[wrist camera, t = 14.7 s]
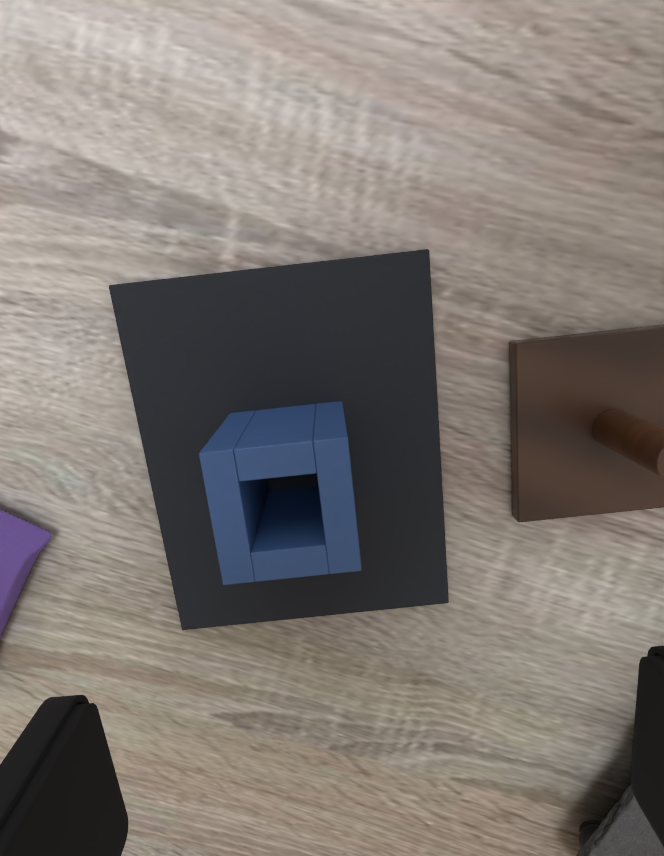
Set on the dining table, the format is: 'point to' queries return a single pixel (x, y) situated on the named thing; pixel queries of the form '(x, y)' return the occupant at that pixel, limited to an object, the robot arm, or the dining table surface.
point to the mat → (284, 387)
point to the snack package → (16, 559)
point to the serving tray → (620, 832)
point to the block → (281, 494)
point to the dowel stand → (587, 423)
